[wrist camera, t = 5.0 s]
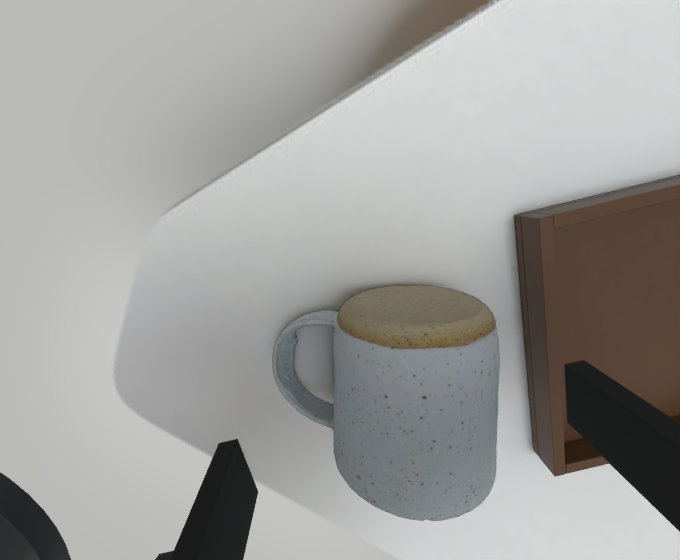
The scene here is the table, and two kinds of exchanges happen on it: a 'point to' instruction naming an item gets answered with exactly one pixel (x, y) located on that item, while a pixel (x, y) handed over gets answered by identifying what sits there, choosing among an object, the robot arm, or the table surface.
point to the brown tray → (600, 306)
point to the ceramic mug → (407, 397)
